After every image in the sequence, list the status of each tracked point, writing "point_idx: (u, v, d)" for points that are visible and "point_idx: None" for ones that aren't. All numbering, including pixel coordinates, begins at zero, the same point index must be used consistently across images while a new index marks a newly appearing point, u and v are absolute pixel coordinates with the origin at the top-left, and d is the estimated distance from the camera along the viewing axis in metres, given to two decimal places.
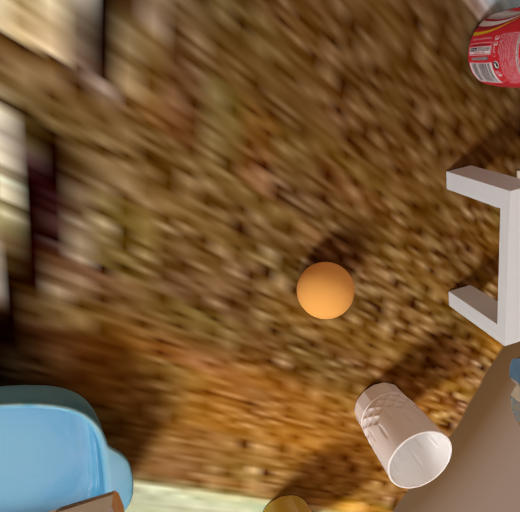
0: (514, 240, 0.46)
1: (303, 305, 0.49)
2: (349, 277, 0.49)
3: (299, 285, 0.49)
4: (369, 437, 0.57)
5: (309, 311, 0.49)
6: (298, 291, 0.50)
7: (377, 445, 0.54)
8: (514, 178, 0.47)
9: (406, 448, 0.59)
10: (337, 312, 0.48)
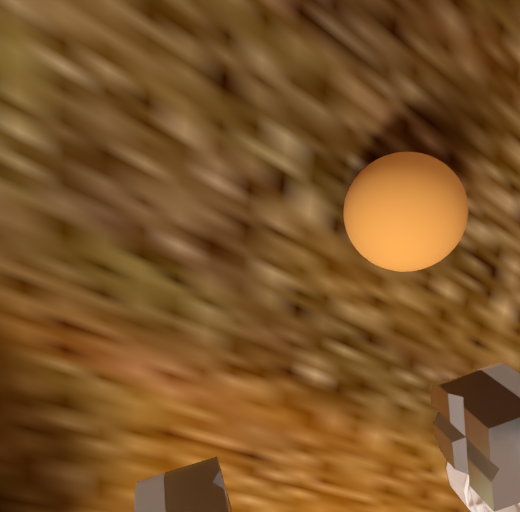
0: None
1: (360, 240, 0.23)
2: (457, 177, 0.23)
3: (350, 199, 0.23)
4: None
5: (374, 251, 0.23)
6: (348, 212, 0.24)
7: None
8: None
9: None
10: (436, 249, 0.22)
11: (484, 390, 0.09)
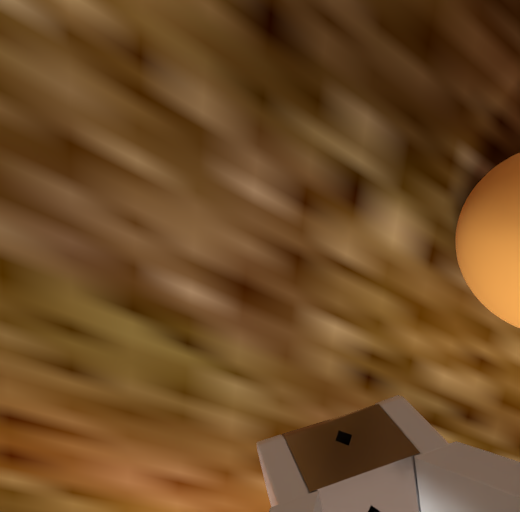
0: None
1: (499, 289, 0.14)
2: None
3: (480, 220, 0.14)
4: None
5: None
6: (476, 241, 0.14)
7: None
8: None
9: None
10: None
11: (374, 428, 0.08)
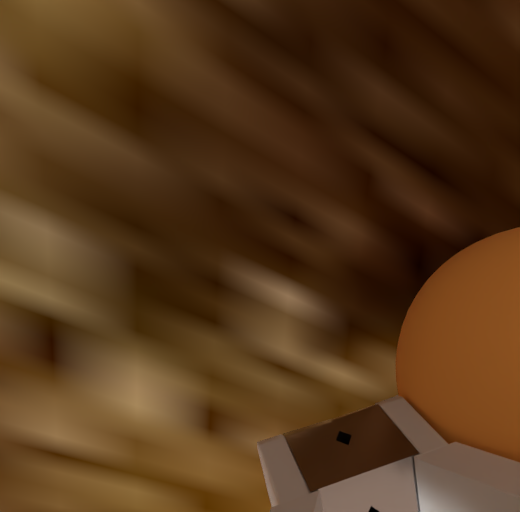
0: None
1: None
2: None
3: None
4: None
5: None
6: None
7: None
8: None
9: None
10: None
11: (374, 428, 0.08)
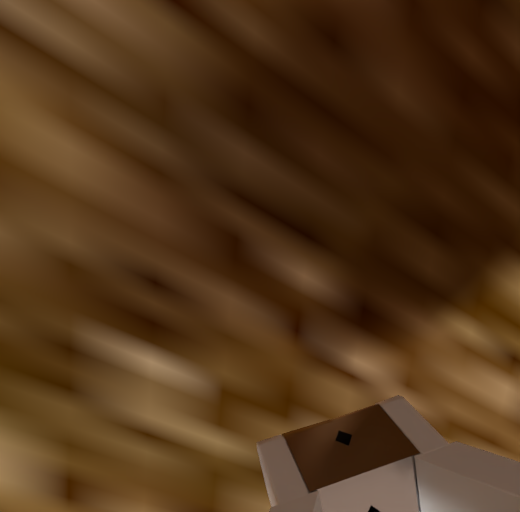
0: None
1: None
2: None
3: None
4: None
5: None
6: None
7: None
8: None
9: None
10: None
11: (374, 427, 0.08)
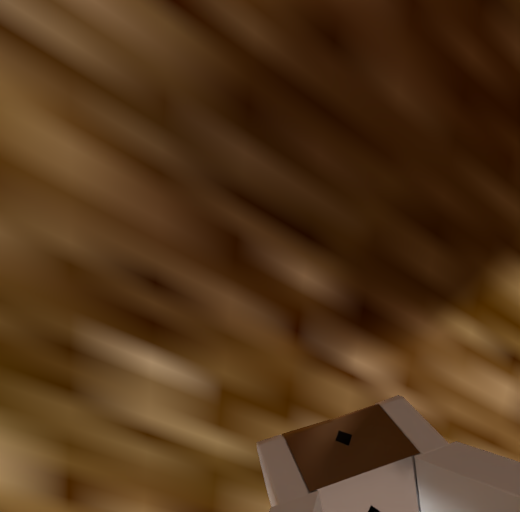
0: None
1: None
2: None
3: None
4: None
5: None
6: None
7: None
8: None
9: None
10: None
11: (374, 427, 0.08)
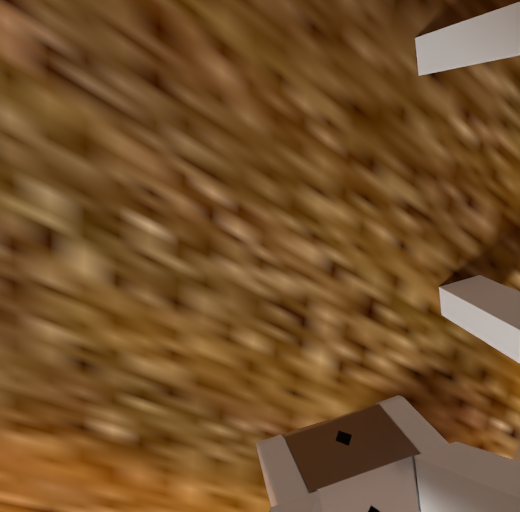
0: None
1: None
2: None
3: None
4: None
5: None
6: None
7: None
8: None
9: None
10: None
11: (374, 427, 0.08)
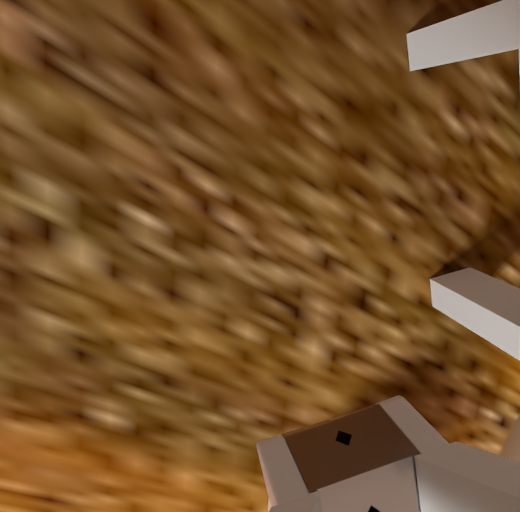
0: None
1: None
2: None
3: None
4: None
5: None
6: None
7: None
8: None
9: None
10: None
11: (374, 427, 0.08)
